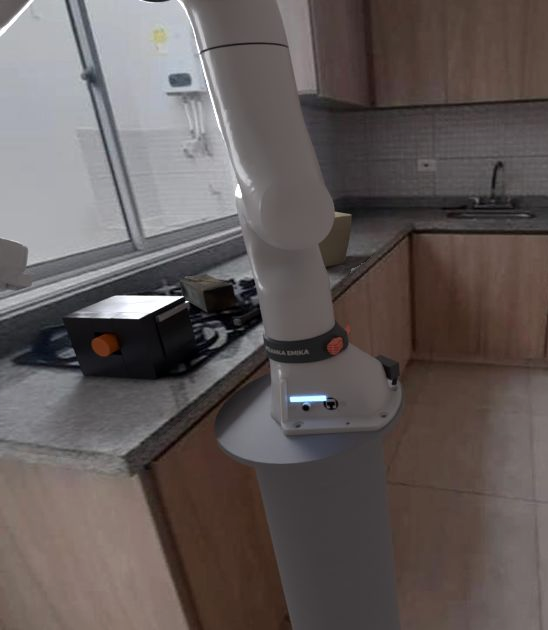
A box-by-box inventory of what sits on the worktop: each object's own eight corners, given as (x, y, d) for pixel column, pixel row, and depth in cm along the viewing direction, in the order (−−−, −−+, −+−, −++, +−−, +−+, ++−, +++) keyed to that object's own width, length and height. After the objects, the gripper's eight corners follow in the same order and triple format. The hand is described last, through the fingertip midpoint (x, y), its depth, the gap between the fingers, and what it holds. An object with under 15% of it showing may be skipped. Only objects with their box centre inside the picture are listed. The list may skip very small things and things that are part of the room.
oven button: (126, 348, 81) (121, 331, 80) (112, 357, 78) (106, 338, 77) (110, 348, 82) (104, 330, 81) (95, 356, 79) (88, 338, 78)
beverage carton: (211, 292, 129) (206, 270, 127) (238, 306, 116) (233, 282, 114) (182, 299, 124) (177, 277, 122) (208, 315, 111) (202, 290, 109)
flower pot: (331, 254, 167) (325, 209, 161) (358, 263, 153) (353, 214, 147) (283, 264, 156) (275, 216, 150) (307, 274, 142) (300, 222, 136)
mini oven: (202, 350, 91) (188, 296, 87) (161, 379, 80) (143, 319, 76) (132, 348, 94) (115, 295, 90) (83, 375, 83) (61, 317, 79)
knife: (277, 293, 120) (292, 294, 119) (278, 299, 121) (293, 300, 119) (227, 318, 103) (245, 319, 102) (229, 325, 104) (246, 327, 102)
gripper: (-66, 203, 47) (76, 245, 59) (-157, 247, 54) (-13, 276, 66) (-76, 259, 45) (71, 290, 58) (-168, 296, 52) (-19, 317, 65)
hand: (26, 283), depth 62 cm, fingers closed
